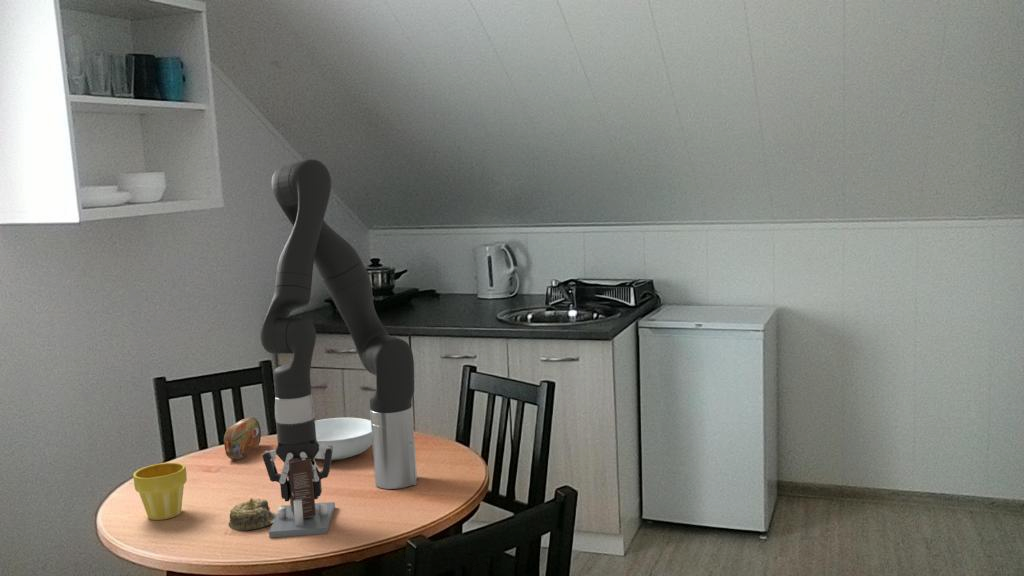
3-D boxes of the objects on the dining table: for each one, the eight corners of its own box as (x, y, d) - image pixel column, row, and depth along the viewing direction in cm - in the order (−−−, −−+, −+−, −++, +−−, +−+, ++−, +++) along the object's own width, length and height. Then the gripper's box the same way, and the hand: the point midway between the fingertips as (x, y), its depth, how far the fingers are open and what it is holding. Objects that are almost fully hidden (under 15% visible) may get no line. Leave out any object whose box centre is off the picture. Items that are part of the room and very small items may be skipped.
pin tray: (335, 507, 195) (332, 478, 194) (326, 533, 181) (324, 503, 180) (281, 511, 194) (279, 482, 193) (269, 537, 180) (266, 507, 180)
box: (289, 510, 189) (285, 453, 188) (311, 506, 191) (308, 449, 189) (293, 520, 184) (289, 461, 182) (316, 516, 185) (313, 458, 184)
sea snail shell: (230, 538, 183) (226, 512, 182) (226, 522, 192) (222, 497, 192) (282, 525, 186) (277, 499, 186) (275, 509, 196) (271, 485, 195)
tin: (235, 463, 228) (232, 430, 227) (223, 463, 229) (220, 430, 228) (263, 445, 243) (260, 413, 242) (252, 444, 243) (249, 413, 242)
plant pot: (132, 514, 197) (127, 469, 196) (181, 501, 203) (177, 458, 202) (145, 528, 189) (140, 481, 187) (196, 515, 194) (192, 469, 193)
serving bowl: (372, 466, 221) (370, 438, 220) (284, 470, 221) (282, 442, 220) (384, 440, 242) (382, 414, 241) (304, 444, 242) (302, 418, 241)
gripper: (333, 409, 189) (340, 490, 191) (262, 414, 188) (269, 495, 190) (329, 419, 182) (335, 503, 184) (254, 424, 181) (262, 508, 183)
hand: (301, 498), depth 187 cm, fingers closed on box, 5 cm apart
